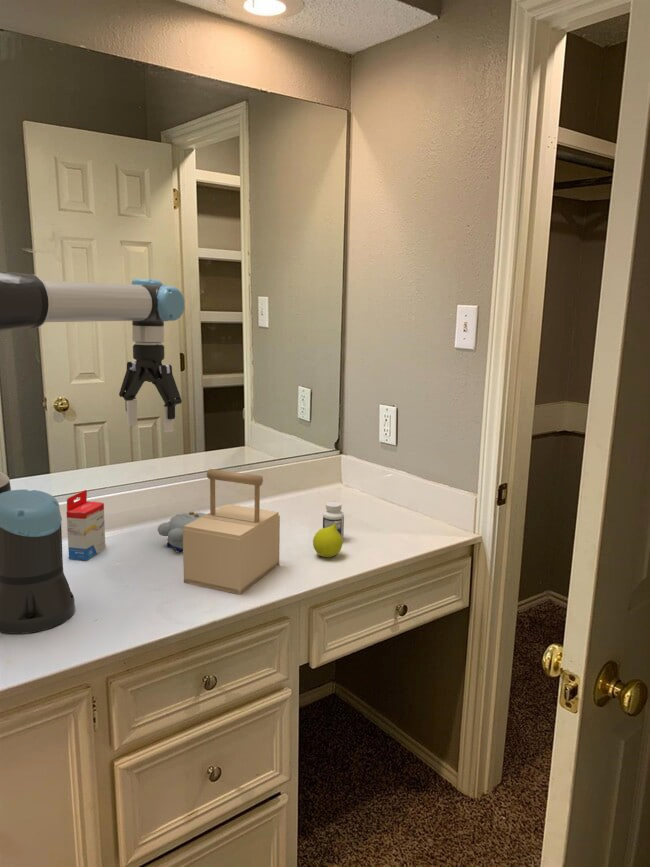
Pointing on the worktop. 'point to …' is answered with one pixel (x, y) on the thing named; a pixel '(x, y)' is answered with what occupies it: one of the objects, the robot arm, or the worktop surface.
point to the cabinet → (229, 552)
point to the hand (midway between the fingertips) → (150, 428)
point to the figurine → (177, 529)
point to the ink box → (85, 527)
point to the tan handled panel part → (232, 510)
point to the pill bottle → (334, 517)
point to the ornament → (328, 541)
